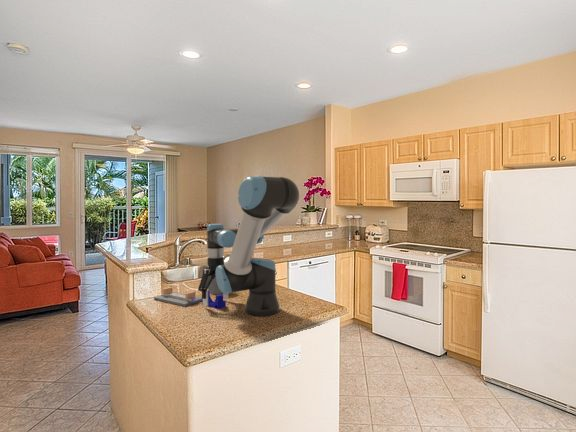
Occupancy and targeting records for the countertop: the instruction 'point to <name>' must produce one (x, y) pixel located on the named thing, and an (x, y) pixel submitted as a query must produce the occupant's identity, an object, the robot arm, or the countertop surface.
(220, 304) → the cable clip
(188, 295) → the rail mount
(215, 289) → the coffee mug
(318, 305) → the countertop surface
